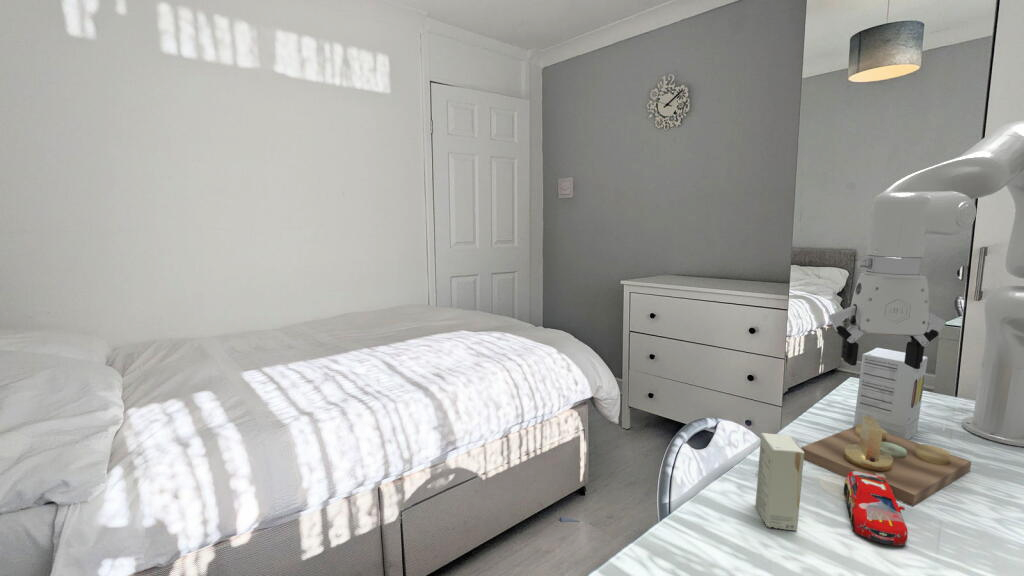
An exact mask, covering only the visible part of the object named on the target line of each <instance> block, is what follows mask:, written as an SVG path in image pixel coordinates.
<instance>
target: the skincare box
mask: <svg viewBox="0 0 1024 576" xmlns="http://www.w3.org/2000/svg"><path fill="white" fill-rule="evenodd" d="M759 445H760V446H759V457H758V466H757V467H758V469H757V470H758V471H757V482H756V495H755V507H756V509H757V511H758V514H759V515H761V516H760V517H761V519H762V521H763V523H764V522H765V523H764V525H765V524H766V525H765V527H767V526H769V527H768V528H771V527H774V528H773V529H778V528H779V529H781V530H788V531H798V527H799V526H798V524H799V513H800V503H801V493H802V492H801V491H802V482H803V471H804V460H805V459H804V451H803V450H802V449H801V447H802V446H800V445H799V444H798V442H796V440H795V439H794V438H793V437H792V436H791V435H787V434H777V433H766V432H761V433H760V443H759ZM779 529H778V530H779Z"/></svg>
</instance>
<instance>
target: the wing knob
mask: <svg viewBox="0 0 1024 576" xmlns="http://www.w3.org/2000/svg"><path fill="white" fill-rule="evenodd" d="M882 433H883V431H882V430H881V428H880V426H879V424H878V423H877V421H876V419H875V418H873V417H866V416H863V418H862V426H861V434H860V442H859V444H849V445H847V446H845V452H844V457H845V459H846V460H848V461H849V462H850V463H852V464H854V465H856V466H859V467H862V468H865V469H869V470H874V471H889V470H891V469H892V464H893V457H892V456H891V455H890V454H888V453H887V452H885V451H883V450H880V448H881V440H882Z"/></svg>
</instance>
